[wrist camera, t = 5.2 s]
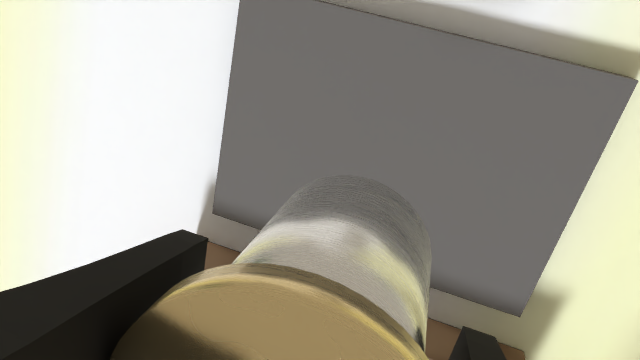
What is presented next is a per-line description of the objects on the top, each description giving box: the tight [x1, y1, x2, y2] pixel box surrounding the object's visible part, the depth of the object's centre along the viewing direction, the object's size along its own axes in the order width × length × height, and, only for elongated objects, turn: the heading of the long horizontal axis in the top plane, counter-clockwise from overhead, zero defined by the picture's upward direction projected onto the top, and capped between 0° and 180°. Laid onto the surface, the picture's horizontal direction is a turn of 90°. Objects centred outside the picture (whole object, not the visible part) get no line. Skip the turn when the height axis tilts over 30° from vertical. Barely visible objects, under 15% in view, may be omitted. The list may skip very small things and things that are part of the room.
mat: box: [212, 0, 638, 317], centre depth 19 cm, size 14×10×1 cm
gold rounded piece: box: [110, 175, 432, 360], centre depth 10 cm, size 5×5×6 cm
